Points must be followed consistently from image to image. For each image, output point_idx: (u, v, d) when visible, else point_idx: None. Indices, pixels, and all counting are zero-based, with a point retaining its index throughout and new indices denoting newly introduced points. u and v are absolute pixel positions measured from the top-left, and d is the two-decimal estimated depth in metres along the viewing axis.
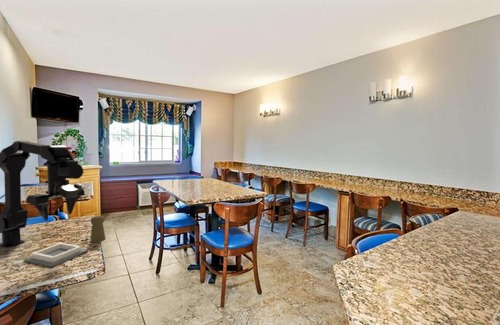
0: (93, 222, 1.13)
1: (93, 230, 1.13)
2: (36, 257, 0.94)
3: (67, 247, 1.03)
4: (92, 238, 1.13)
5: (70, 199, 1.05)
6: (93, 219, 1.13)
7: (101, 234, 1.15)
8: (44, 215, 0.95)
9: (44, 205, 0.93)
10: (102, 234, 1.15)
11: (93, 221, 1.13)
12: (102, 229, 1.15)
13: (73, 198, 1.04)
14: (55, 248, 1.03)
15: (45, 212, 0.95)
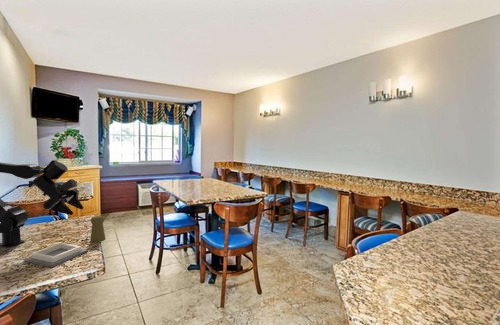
0: (93, 222, 1.13)
1: (93, 230, 1.13)
2: (36, 257, 0.94)
3: (67, 247, 1.03)
4: (92, 238, 1.13)
5: (72, 199, 1.17)
6: (93, 219, 1.13)
7: (101, 234, 1.15)
8: (67, 210, 1.08)
9: (62, 200, 1.06)
10: (102, 234, 1.15)
11: (93, 221, 1.13)
12: (102, 229, 1.15)
13: (74, 196, 1.18)
14: (55, 248, 1.03)
15: (67, 207, 1.08)
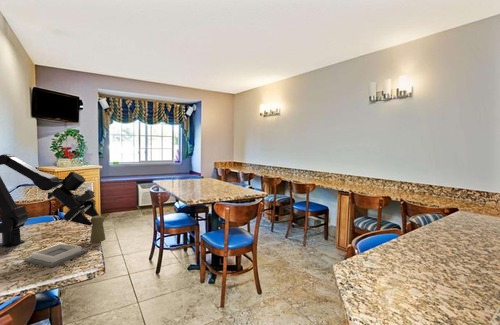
0: (93, 222, 1.13)
1: (93, 230, 1.13)
2: (36, 257, 0.94)
3: (67, 247, 1.03)
4: (92, 238, 1.13)
5: (89, 209, 1.19)
6: (93, 219, 1.13)
7: (101, 234, 1.15)
8: (86, 221, 1.10)
9: (81, 212, 1.08)
10: (102, 234, 1.15)
11: (93, 221, 1.13)
12: (102, 229, 1.15)
13: (91, 206, 1.19)
14: (55, 248, 1.03)
15: (86, 218, 1.09)
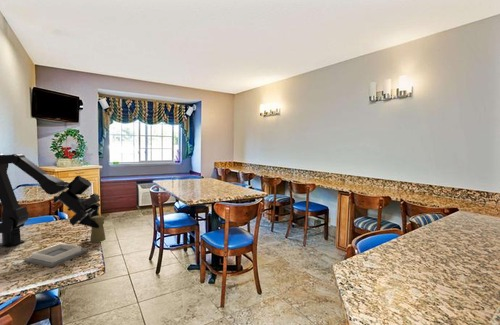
0: None
1: (93, 230, 1.13)
2: (36, 257, 0.94)
3: (67, 247, 1.03)
4: (92, 238, 1.13)
5: (93, 214, 1.18)
6: None
7: (101, 234, 1.15)
8: (94, 224, 1.12)
9: (89, 214, 1.10)
10: (102, 234, 1.15)
11: None
12: (102, 229, 1.15)
13: (95, 211, 1.18)
14: (55, 248, 1.03)
15: (93, 221, 1.12)
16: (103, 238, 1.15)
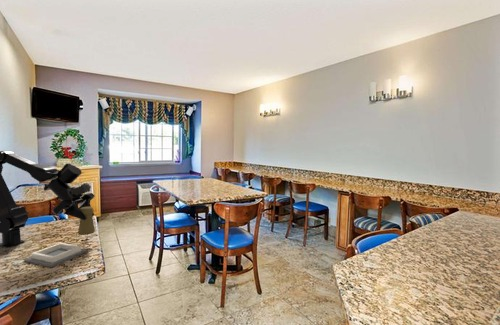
0: None
1: (81, 222, 1.07)
2: (36, 257, 0.94)
3: (67, 247, 1.03)
4: (79, 230, 1.07)
5: (84, 205, 1.12)
6: (81, 210, 1.07)
7: (89, 227, 1.08)
8: (80, 215, 1.05)
9: (75, 205, 1.04)
10: (90, 226, 1.08)
11: None
12: (90, 221, 1.08)
13: (86, 202, 1.12)
14: (55, 248, 1.03)
15: (80, 212, 1.05)
16: (91, 231, 1.08)
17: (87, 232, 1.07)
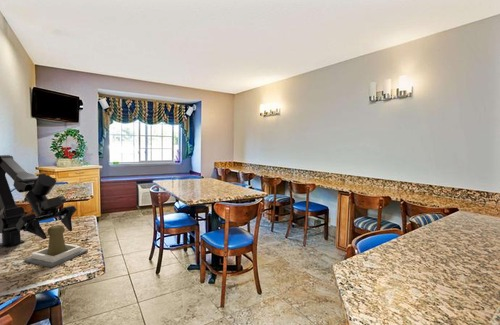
0: (48, 233, 0.96)
1: None
2: (36, 257, 0.94)
3: (67, 247, 1.03)
4: None
5: (65, 218, 1.04)
6: (48, 229, 0.96)
7: (55, 249, 0.96)
8: (40, 233, 0.93)
9: (33, 222, 0.92)
10: (57, 248, 0.97)
11: None
12: (58, 242, 0.97)
13: (66, 215, 1.03)
14: None
15: (39, 230, 0.93)
16: (58, 253, 0.97)
17: (53, 255, 0.96)
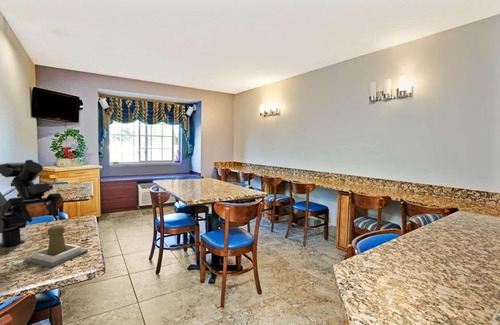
0: (48, 233, 0.96)
1: (49, 242, 0.97)
2: (36, 257, 0.94)
3: (67, 247, 1.03)
4: None
5: (50, 204, 1.07)
6: (48, 229, 0.96)
7: (55, 249, 0.96)
8: (26, 216, 0.96)
9: (21, 205, 0.95)
10: (57, 249, 0.97)
11: (48, 232, 0.96)
12: (58, 243, 0.97)
13: (51, 201, 1.07)
14: None
15: (26, 213, 0.96)
16: None
17: (53, 255, 0.96)
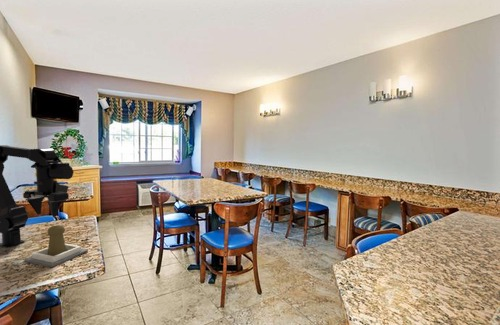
0: (48, 233, 0.96)
1: (49, 242, 0.97)
2: (36, 257, 0.94)
3: (67, 247, 1.03)
4: None
5: (38, 200, 1.09)
6: (48, 229, 0.96)
7: (55, 249, 0.96)
8: (56, 211, 1.06)
9: None
10: (57, 249, 0.97)
11: (48, 232, 0.96)
12: (58, 243, 0.97)
13: (41, 198, 1.11)
14: None
15: None
16: None
17: (53, 255, 0.96)
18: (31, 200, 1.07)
